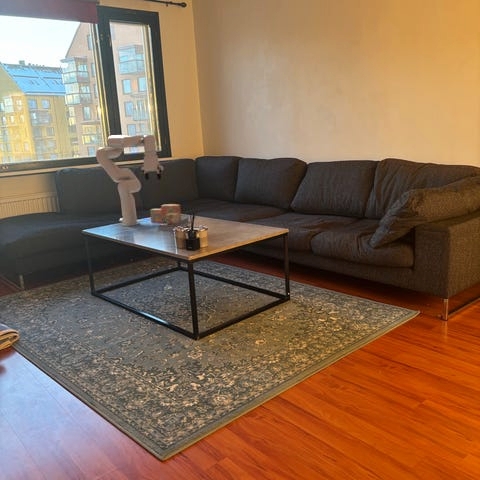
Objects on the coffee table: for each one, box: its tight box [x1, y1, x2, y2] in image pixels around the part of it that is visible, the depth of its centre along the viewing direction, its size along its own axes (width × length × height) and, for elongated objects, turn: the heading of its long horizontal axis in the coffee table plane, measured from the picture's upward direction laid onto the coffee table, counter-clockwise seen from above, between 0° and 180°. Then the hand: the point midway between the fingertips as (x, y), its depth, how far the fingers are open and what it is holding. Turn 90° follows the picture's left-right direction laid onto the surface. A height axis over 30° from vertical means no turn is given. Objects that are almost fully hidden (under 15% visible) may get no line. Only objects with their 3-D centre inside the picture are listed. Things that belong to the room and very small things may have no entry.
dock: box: [157, 217, 189, 232], centre depth 328 cm, size 14×16×6 cm
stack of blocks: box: [149, 203, 182, 223], centre depth 352 cm, size 21×6×12 cm, turn 73°
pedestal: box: [166, 213, 179, 225], centre depth 327 cm, size 6×6×7 cm
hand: (153, 179), depth 331 cm, fingers open, 9 cm apart
